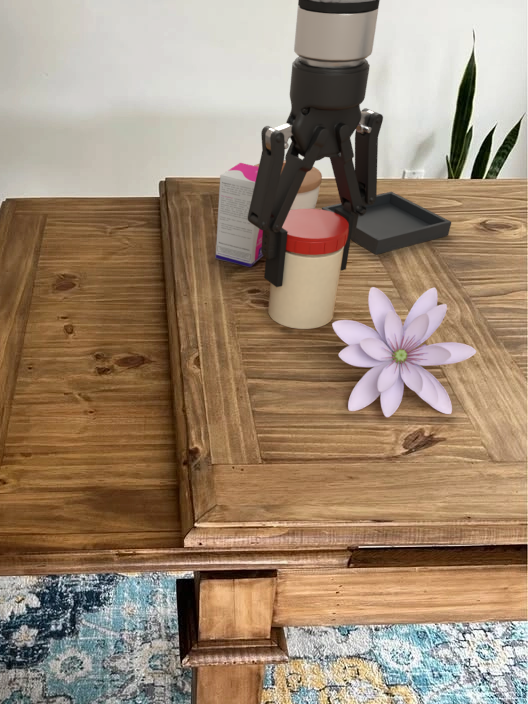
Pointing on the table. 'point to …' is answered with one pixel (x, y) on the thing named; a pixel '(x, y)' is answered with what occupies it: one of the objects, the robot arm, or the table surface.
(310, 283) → the jam jar
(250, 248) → the supplement box
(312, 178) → the trinket box
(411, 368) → the water lily
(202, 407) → the table surface
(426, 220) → the tray
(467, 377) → the table surface
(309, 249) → the jam lid
